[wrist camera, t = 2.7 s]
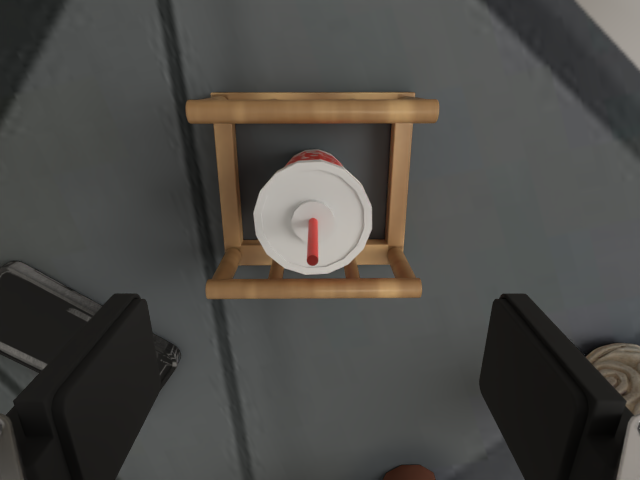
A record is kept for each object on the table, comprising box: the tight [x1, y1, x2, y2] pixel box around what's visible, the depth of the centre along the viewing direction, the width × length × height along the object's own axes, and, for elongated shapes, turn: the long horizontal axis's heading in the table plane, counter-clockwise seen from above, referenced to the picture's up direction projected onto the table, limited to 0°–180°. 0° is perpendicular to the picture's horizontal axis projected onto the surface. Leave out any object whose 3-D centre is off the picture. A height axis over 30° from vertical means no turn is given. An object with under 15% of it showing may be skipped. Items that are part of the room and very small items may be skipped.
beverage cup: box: [253, 149, 372, 275], centre depth 23 cm, size 6×6×14 cm
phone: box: [0, 261, 181, 392], centre depth 34 cm, size 8×1×15 cm
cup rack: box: [186, 92, 439, 299], centre depth 26 cm, size 13×12×7 cm
